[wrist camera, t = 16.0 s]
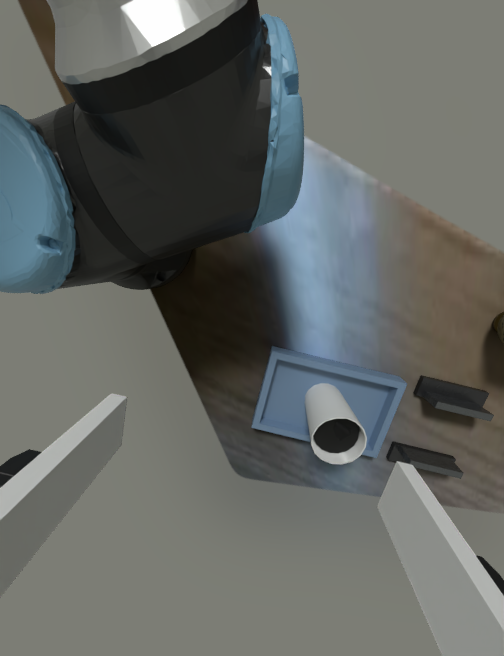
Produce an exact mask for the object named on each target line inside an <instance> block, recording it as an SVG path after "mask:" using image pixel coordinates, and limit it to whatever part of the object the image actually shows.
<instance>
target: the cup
mask: <svg viewBox="0 0 504 656" xmlns="http://www.w3.org/2000/svg"><path fill="white" fill-rule="evenodd" d="M493 327H494V329H495V331H496V332H497V333H498V336H499V338H500V340H501V341H502V343H503V344H504V312H502V313H500V314H499V315H498V316H497V317H496V318H495V320H494V322H493Z"/></svg>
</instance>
